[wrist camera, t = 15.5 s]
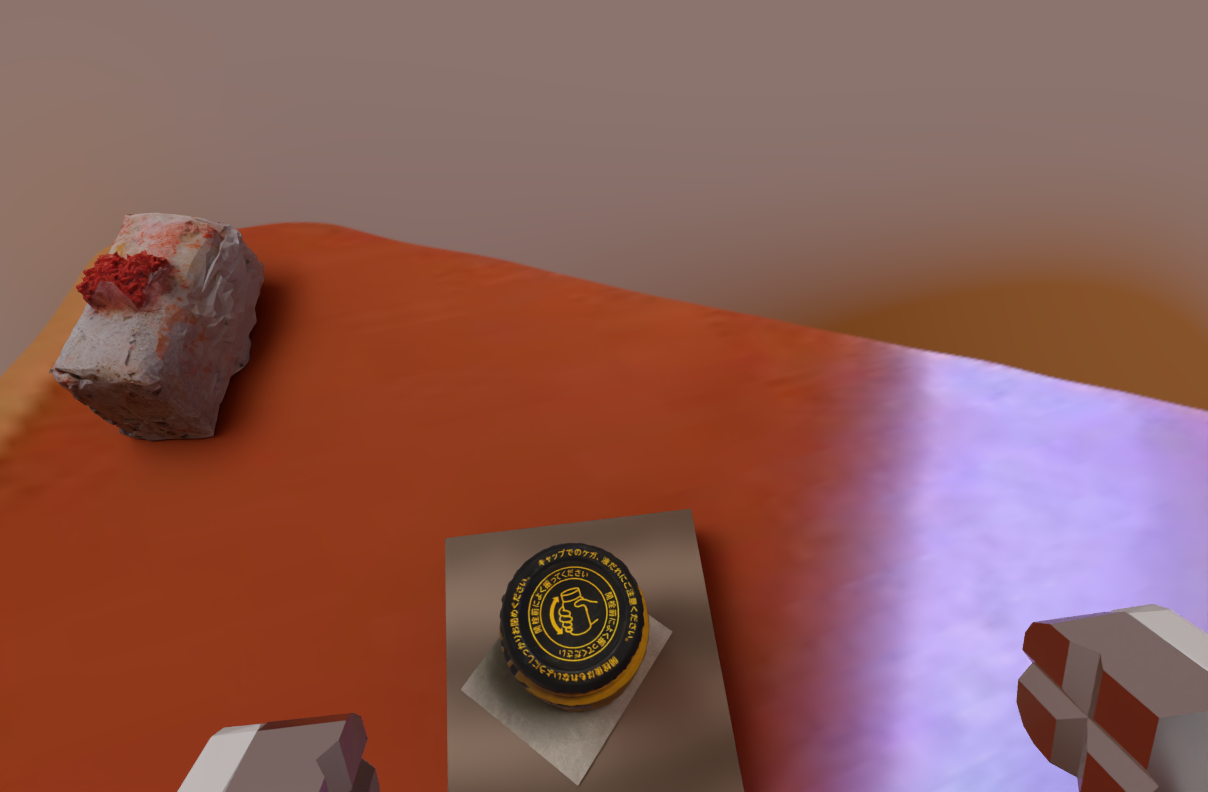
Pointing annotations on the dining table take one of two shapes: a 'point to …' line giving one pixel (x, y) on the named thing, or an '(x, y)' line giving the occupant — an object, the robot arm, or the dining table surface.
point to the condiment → (568, 653)
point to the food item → (163, 326)
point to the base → (659, 706)
